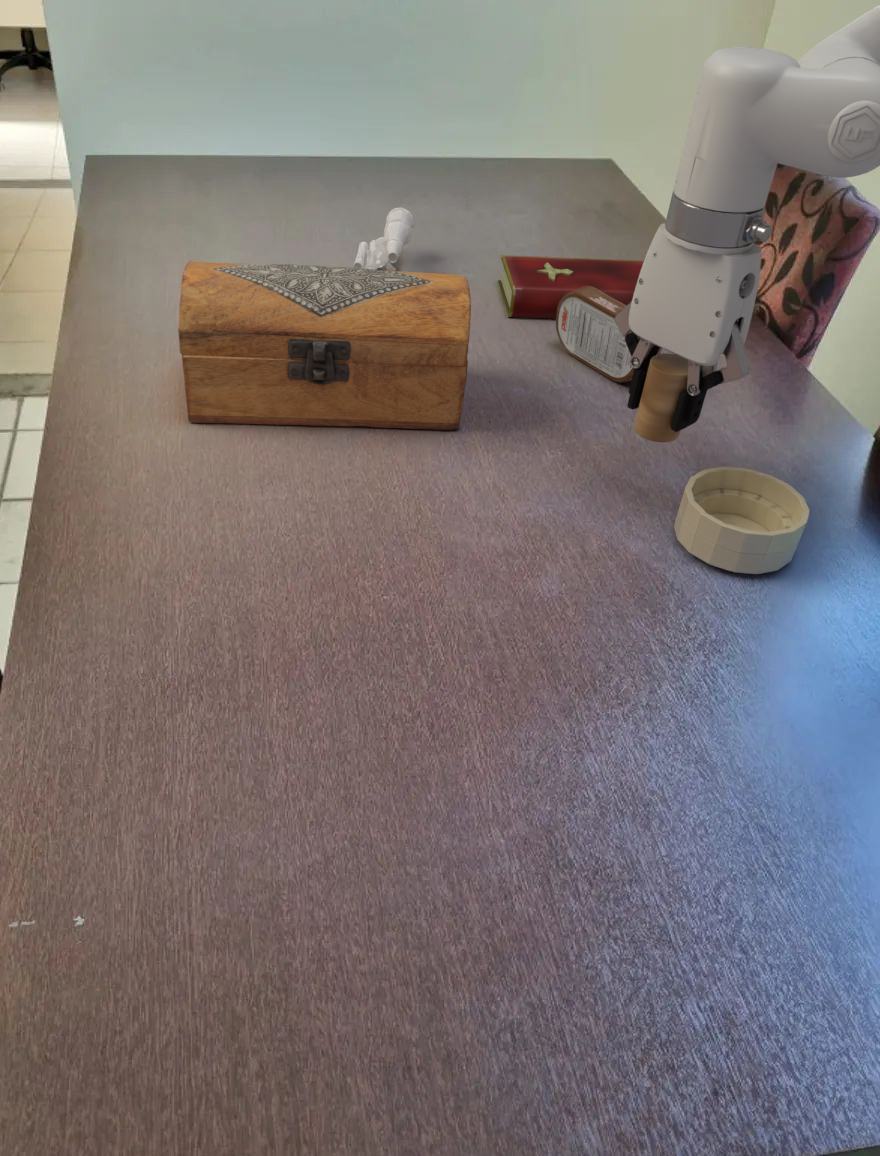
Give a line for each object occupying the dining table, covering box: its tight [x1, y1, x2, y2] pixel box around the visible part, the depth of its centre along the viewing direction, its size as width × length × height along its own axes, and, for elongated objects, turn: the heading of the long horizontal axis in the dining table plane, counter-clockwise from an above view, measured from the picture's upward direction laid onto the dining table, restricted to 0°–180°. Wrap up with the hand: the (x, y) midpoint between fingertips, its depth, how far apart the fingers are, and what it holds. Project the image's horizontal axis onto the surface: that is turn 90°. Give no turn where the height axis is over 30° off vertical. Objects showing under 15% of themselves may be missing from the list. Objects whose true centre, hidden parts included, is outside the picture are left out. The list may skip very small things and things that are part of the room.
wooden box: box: [177, 260, 472, 431], centre depth 106 cm, size 30×16×14 cm, turn 91°
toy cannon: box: [352, 207, 415, 271], centre depth 137 cm, size 8×14×5 cm
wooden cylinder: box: [633, 353, 689, 443], centre depth 92 cm, size 4×4×7 cm
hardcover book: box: [497, 254, 645, 320], centre depth 133 cm, size 12×21×4 cm, turn 93°
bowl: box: [673, 466, 811, 575], centre depth 92 cm, size 11×11×5 cm
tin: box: [555, 286, 634, 383], centre depth 117 cm, size 15×3×8 cm, turn 34°
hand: (660, 413), depth 94 cm, fingers closed on wooden cylinder, 4 cm apart
